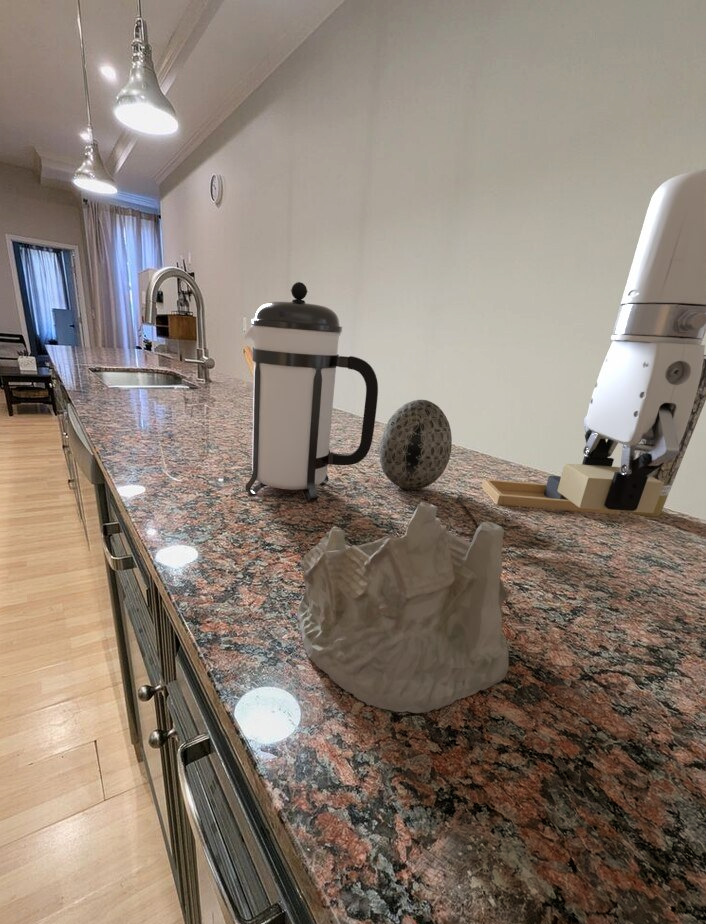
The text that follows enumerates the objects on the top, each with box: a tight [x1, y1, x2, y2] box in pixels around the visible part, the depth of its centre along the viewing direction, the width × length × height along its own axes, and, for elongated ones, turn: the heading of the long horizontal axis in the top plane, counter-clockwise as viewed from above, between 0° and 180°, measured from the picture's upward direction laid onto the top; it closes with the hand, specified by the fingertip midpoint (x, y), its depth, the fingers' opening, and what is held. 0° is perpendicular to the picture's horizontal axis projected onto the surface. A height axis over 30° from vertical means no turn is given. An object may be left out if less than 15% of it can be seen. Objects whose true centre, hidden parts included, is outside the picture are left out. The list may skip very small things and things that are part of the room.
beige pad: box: [557, 463, 664, 513], centre depth 50 cm, size 8×6×4 cm
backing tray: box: [481, 478, 622, 516], centre depth 75 cm, size 20×9×2 cm, turn 88°
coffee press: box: [243, 281, 379, 503], centre depth 67 cm, size 17×16×30 cm
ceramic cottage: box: [296, 501, 512, 714], centre depth 36 cm, size 16×16×15 cm
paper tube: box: [625, 354, 706, 518], centre depth 70 cm, size 7×7×25 cm
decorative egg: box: [378, 399, 453, 491], centre depth 75 cm, size 12×12×15 cm
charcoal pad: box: [544, 475, 568, 500], centre depth 74 cm, size 8×6×4 cm
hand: (604, 497), depth 51 cm, fingers closed on beige pad, 5 cm apart
